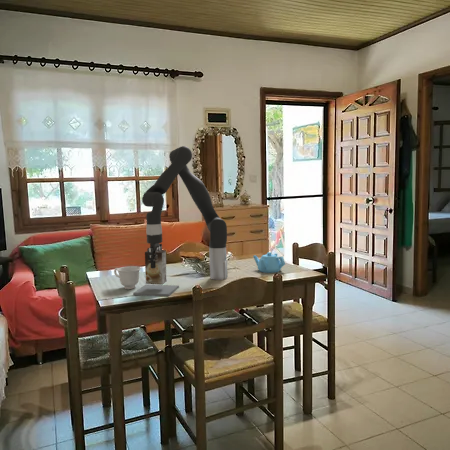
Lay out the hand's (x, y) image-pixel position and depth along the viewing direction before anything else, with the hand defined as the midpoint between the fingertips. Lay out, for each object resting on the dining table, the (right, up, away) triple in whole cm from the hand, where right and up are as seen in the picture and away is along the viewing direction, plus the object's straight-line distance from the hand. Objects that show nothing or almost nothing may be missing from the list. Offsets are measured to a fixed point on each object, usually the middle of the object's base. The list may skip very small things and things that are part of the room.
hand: (155, 266), depth 211 cm
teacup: (-16, -12, +10) cm, 22 cm away
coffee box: (0, -8, +1) cm, 8 cm away
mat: (0, -12, +1) cm, 12 cm away
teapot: (+60, -6, +41) cm, 73 cm away
